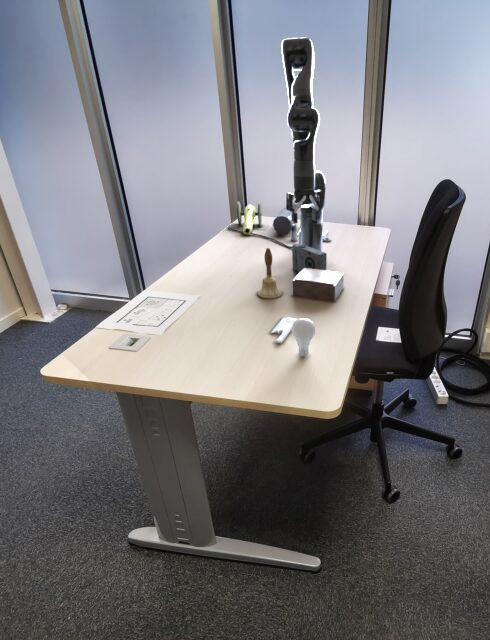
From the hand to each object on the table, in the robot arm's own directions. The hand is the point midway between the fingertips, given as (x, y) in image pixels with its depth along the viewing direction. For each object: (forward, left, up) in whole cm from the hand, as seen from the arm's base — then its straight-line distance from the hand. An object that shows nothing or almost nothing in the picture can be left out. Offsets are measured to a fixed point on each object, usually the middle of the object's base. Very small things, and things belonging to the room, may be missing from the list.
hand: (305, 221), depth 164 cm
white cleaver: (+33, -40, -19) cm, 55 cm away
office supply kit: (-42, +39, -19) cm, 61 cm away
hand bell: (+9, -25, -19) cm, 33 cm away
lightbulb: (+48, -45, -19) cm, 68 cm away
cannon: (-62, +20, -19) cm, 68 cm away
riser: (+19, -11, -19) cm, 29 cm away
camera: (+3, -1, -19) cm, 19 cm away
